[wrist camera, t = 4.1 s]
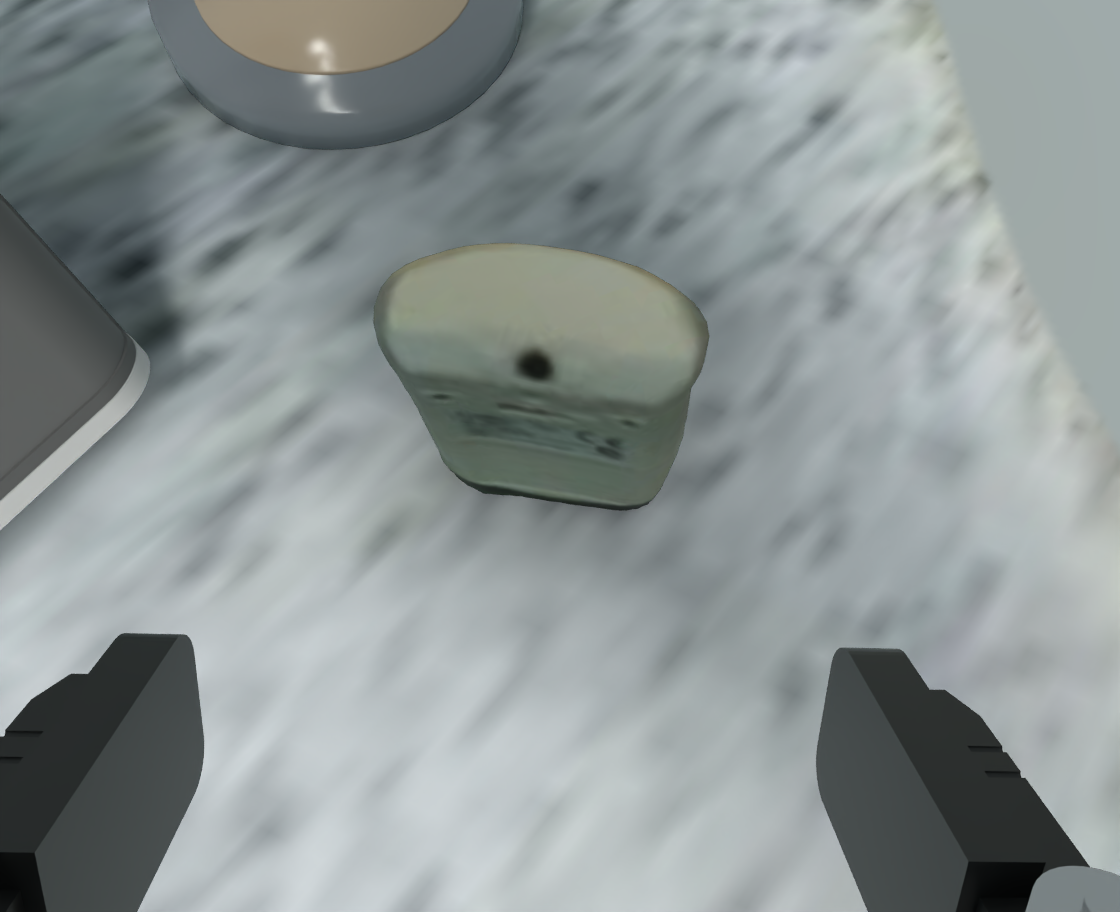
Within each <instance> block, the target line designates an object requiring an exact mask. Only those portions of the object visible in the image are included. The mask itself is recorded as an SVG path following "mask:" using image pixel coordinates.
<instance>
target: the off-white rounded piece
mask: <svg viewBox="0 0 1120 912" xmlns="http://www.w3.org/2000/svg"><path fill="white" fill-rule="evenodd" d="M374 327H375V331H376V335H377V340H378V344H379V346H380V348H381V350H382V352H383V353H384V355H385V357H386V359H387V361H388V363H389V364H390V366H391V367H392V368H393V370H394V371H395V372H396V374H397V375H398V376H399V378H400V380H401V382H402V384H403V385H404V387H405V389H406V390H407V391H408V393H409V394H410V396H411V398H412V399H413V401H414V403H415V405H416V407H417V408H418V410H419V413H420V415H421V417H422V419H423V421H424V423H425V425H426V427H427V428H428V430H429V432H430V434H431V436H432V438H433V440H434V442H435V444H436V446H437V448H438V450H439V452H440V455H441V458H442V460H443V462H444V463H445V464H446V465H447V466H448V468H449V469H450V470H451V471H452V472H454V473H455V475H456V476H457V477H458V478H459V479H460V480H462V481H463V482H464V483H466V484H467V485H468V486H471V487H473V488H475V489H477V490H478V491H480V492H482V493H485V494H497V495H513V496H523V497H528V498H535V499H541V500H547V501H554V502H562V503H567V504H574V505H582V506H590V507H598V508H604V509H611V510H631V509H638V508H640V507H642V506H644V505H647V504H648V503H649V502H650V501H651V500H652V499H653V498H654V497H655V496H656V494H657V493H658V492H659V491H660V489H661V487H662V485H663V483H664V480H665V479H666V477H667V475H668V472H669V470H670V468H671V466H672V464H673V461H674V459H675V457H676V455H677V452H678V449H679V446H680V443H681V441H682V438H683V434H684V426H685V422H686V418H687V411H688V406H689V399H690V392H691V387H692V386H693V384H694V383H695V381H696V380H697V378H698V376H699V374H700V373H701V370H702V367H703V363H704V360H705V355H706V350H707V346H708V340H709V332H708V327H707V322H706V320H705V318H704V317H703V315H702V313H701V311H700V310H699V309H698V308H697V307H696V305H695V303H694V302H692V301H691V300H690V299H689V298H687V297H686V296H685V295H683V294H682V293H681V292H680V291H678V290H677V289H676V288H674V287H673V286H672V285H670V284H669V283H667V282H665V281H663V280H661V279H660V278H658V277H657V276H655V275H653V274H651V273H649V272H647V271H645V270H643V269H641V268H639V267H637V266H633V265H630V264H627V263H623V262H620V261H617V260H614V259H610V258H607V257H603V256H599V255H595V254H591V253H586V252H581V251H575V250H569V249H562V248H556V247H549V246H541V245H531V244H515V243H492V244H479V245H472V246H463V247H459V248H455V249H451V250H447V251H444V252H440V253H437V254H434V255H430V256H427V257H424V258H420V259H418V260H416V261H413V262H411V263H409V264H407V265H405V266H403V267H402V268H400V269H399V270H397V271H396V272H394V273H393V274H392V275H391V276H390V277H389V278H388V280H387V281H386V282H385V283H384V284H383V286H382V287H381V289H380V291H379V294H378V297H377V300H376V303H375V306H374Z"/></svg>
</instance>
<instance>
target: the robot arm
mask: <svg viewBox="0 0 1120 912" xmlns="http://www.w3.org/2000/svg"><path fill="white" fill-rule="evenodd" d="M203 758H204V735H203V726H202V717H201V709H200V700H199V691H198V682H197V673H196V665H195V656H194V649H193V645H192V642H191V640H190V638H189V637H188V636H187V635H181V634H137V633H123V634H121V635H119V636H118V637H117V638H116V639H115V640H114V641H113V643H112V644H111V645H110V647H109V648H108V649H107V650H106V652H105V653H104V654H103V656H102V657H101V658H100V659H99V661H98V662H97V663H96V665H95V666H94V667H93V668H92V670H91V671H90V672H89V674H70V675H68V676H67V677H65V678H64V679H62V680H61V681H59V682H58V683H56V684H55V685H53V686H51V687H50V688H48V689H47V690H45V691H44V692H42V693H41V694H39V695H38V696H36V697H34V698H33V699H31V700H30V702H29V703H28V704H27V705H26V706H25V708H24V709H23V710H22V711H21V712H20V714H19V715H18V716H17V717H16V718H15V719H14V721H13V722H12V723H11V724H10V725H9V727H8V728H7V729H6V730H5V736H4V737H0V912H137V911H138V909H139V907H140V905H141V903H142V901H143V898H144V896H145V894H146V892H147V890H148V888H149V886H150V884H151V882H152V880H153V878H154V876H155V874H156V872H157V870H158V868H159V866H160V864H161V862H162V860H163V858H164V856H165V854H166V852H167V849H168V847H169V845H170V843H171V841H172V839H173V837H174V835H175V833H176V831H177V829H178V827H179V825H180V823H181V821H182V819H183V817H184V815H185V813H186V811H187V809H188V807H189V805H190V803H191V800H192V798H193V796H194V794H195V792H196V789H197V787H198V784H199V780H200V776H201V771H202V765H203ZM816 770H817V780H818V786H819V791H820V795H821V799H822V801H823V804H824V806H825V809H826V811H827V814H828V816H829V818H830V821H831V823H832V826H833V828H834V831H835V833H836V835H837V838H838V840H839V843H840V845H841V847H842V850H843V852H844V855H845V857H846V860H847V862H848V864H849V867H850V869H851V872H852V874H853V877H854V879H855V881H856V884H857V886H858V889H859V891H860V893H861V896H862V898H863V901H864V903H865V906H866V908H867V910H868V912H1120V876H1119V875H1116V874H1113V873H1111V872H1107V871H1104V870H1100V869H1096V868H1090V866H1089V865H1088V864H1087V862H1086V861H1085V859H1084V858H1083V857H1082V855H1081V854H1080V853H1079V851H1078V850H1077V848H1076V847H1075V846H1074V844H1073V843H1072V842H1071V840H1070V839H1069V837H1068V836H1067V835H1066V833H1065V832H1064V831H1063V829H1062V828H1061V826H1060V825H1059V824H1058V822H1057V821H1056V820H1055V818H1054V817H1053V815H1052V814H1051V813H1050V811H1049V810H1048V809H1047V807H1046V806H1045V804H1044V803H1043V802H1042V800H1041V799H1040V798H1039V796H1038V795H1037V793H1036V792H1035V791H1034V789H1033V788H1032V787H1031V785H1030V784H1029V782H1028V781H1027V780H1026V778H1021V775H1020V772H1021V771H1020V770H1019V769H1018V767H1017V766H1016V765H1015V763H1014V762H1013V761H1012V759H1011V758H1010V756H1009V755H1008V754H1007V752H1003V751H1002V745H1001V744H1000V743H999V741H998V740H997V739H996V737H995V736H994V734H993V733H992V732H991V730H990V729H989V728H988V726H987V725H986V723H985V722H984V721H983V719H982V718H981V717H980V716H979V715H978V714H977V713H975V712H974V711H973V710H971V709H970V708H969V707H967V706H966V705H964V704H963V703H962V702H960V701H959V700H958V699H956V698H955V697H954V696H952V695H951V694H950V693H948V692H947V691H946V690H929V688H928V687H927V685H926V684H925V682H924V681H923V679H922V678H921V676H920V675H919V673H918V672H917V670H916V669H915V668H914V666H913V665H912V663H911V662H910V660H909V659H908V657H907V656H906V654H905V653H904V652H903V651H902V650H900V649H879V648H839V649H838V650H837V651H836V653H835V655H834V657H833V660H832V665H831V670H830V676H829V681H828V687H827V693H826V699H825V705H824V710H823V716H822V722H821V728H820V734H819V740H818V745H817V755H816Z"/></svg>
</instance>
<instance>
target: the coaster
mask: <svg viewBox="0 0 1120 912" xmlns="http://www.w3.org/2000/svg"><path fill="white" fill-rule="evenodd" d="M148 5H149V9H150V13H151V17H152V20H153V22H154V25H155V27H156V29H157V31H158V33H159V35H160V38H161V40H162V42H163V44H164V46H165V48H166V50H167V52H168V54H169V56H170V59H171V61H172V63H173V65H174V67H175V69H176V71H177V73H178V75H179V77H180V79H181V80H182V81H183V83H184V84H185V86H186V87H187V89H188V90H189V92H190V93H191V94H192V95H193V96H194V97H195V98H196V99H197V100H198V101H199V102H200V103H201V104H202V105H203V106H204V107H205V108H206V109H208V110H209V111H210V112H212V113H213V114H214V115H216V116H217V117H218V118H219V119H221V120H223V121H225V122H226V123H228V124H230V125H232V126H233V127H235V128H237V129H239V130H241V131H244V132H246V133H249V134H251V135H253V136H256V137H258V138H261V139H265V140H269V141H272V142H276V143H279V144H283V145H290V146H296V147H302V148H312V149H331V150H332V149H351V148H361V147H368V146H374V145H380V144H385V143H388V142H392V141H396V140H400V139H404V138H407V137H410V136H412V135H415V134H417V133H420V132H423V131H425V130H428V129H430V128H432V127H434V126H436V125H438V124H440V123H442V122H444V121H446V120H448V119H450V118H451V117H453V116H454V115H456V114H457V113H459V112H460V111H462V110H463V109H465V108H466V107H468V106H469V105H470V104H471V103H472V102H474V101H475V100H476V99H477V98H478V97H480V96H481V95H482V94H483V93H484V92H485V91H486V90H487V89H488V88H489V87H490V86H491V84H492V83H493V82H494V81H495V80H496V79H497V78H498V77H499V75H500V74H501V72H502V71H503V69H504V68H505V66H506V65H507V63H508V62H509V60H510V58H511V55H512V53H513V51H514V49H515V47H516V45H517V41H518V38H519V34H520V31H521V27H522V16H523V0H148Z"/></svg>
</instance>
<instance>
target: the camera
mask: <svg viewBox="0 0 1120 912" xmlns="http://www.w3.org/2000/svg"><path fill="white" fill-rule="evenodd" d="M149 375H150V361H149V357H148V355H147V354H146V352H145V351H144V350H143V349H142V348H141V347H140V346H139V345H138V343H137V342H136V341H135V340H134V339H133V338H132V337H131V336H130V335H129V334H127V333H126V332H125V331H124V330H123V329H122V328H121V327H120V325H119V324H118V323H117V322H116V321H115V320H114V319H113V318H112V317H111V316H110V314H109V313H108V312H107V311H106V310H105V309H104V308H103V307H102V306H101V304H100V303H99V302H98V301H97V300H96V299H95V298H94V297H93V296H92V294H91V293H90V292H89V291H88V290H87V289H86V288H85V287H84V286H83V285H82V283H81V282H80V281H79V280H78V279H77V278H76V277H75V276H74V275H73V273H72V272H71V271H70V270H69V269H68V268H67V267H66V266H65V265H64V263H63V262H62V261H61V260H60V259H59V258H58V257H57V256H56V255H55V254H54V252H53V251H52V250H51V249H50V248H49V247H48V246H47V245H46V244H45V242H44V241H43V240H42V239H41V238H40V237H39V236H38V235H37V234H36V233H35V231H34V230H33V229H32V228H31V227H30V226H29V225H28V224H27V223H26V221H25V220H24V219H23V218H22V217H21V216H20V215H19V214H18V213H17V211H16V210H15V209H14V208H13V207H12V206H11V205H10V204H9V203H8V202H7V200H6V199H5V198H4V197H3V196H2V195H1V194H0V530H1V529H2V528H3V527H4V526H6V525H7V524H8V523H9V522H10V521H11V520H12V519H13V518H14V517H15V516H16V515H18V514H19V513H20V512H21V511H22V510H23V509H24V508H25V507H26V506H27V505H28V504H29V503H31V502H32V501H33V500H34V499H35V498H36V497H37V496H38V495H39V494H40V493H41V492H42V491H44V490H45V489H46V488H47V487H48V486H49V485H50V484H51V483H52V482H53V481H54V480H56V479H57V478H58V477H59V476H60V475H61V474H62V473H63V472H64V471H65V470H66V469H67V468H69V467H70V466H71V465H72V464H73V463H74V462H75V461H76V460H77V459H78V458H79V457H80V456H82V455H83V454H84V453H85V452H86V451H87V450H88V449H89V448H90V447H91V446H92V445H94V444H95V443H96V442H97V441H98V440H99V439H100V438H101V437H102V436H103V435H104V434H105V433H107V432H108V431H109V430H110V429H111V428H112V427H113V426H114V425H115V424H116V423H117V422H118V421H120V420H121V419H122V418H123V417H124V416H125V415H126V414H127V413H128V412H129V410H130V409H131V408H132V407H133V406H134V404H135V403H136V402H137V400H138V399H139V398H140V396H141V394H142V392H143V391H144V389H145V387H146V384H147V382H148V379H149Z"/></svg>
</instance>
